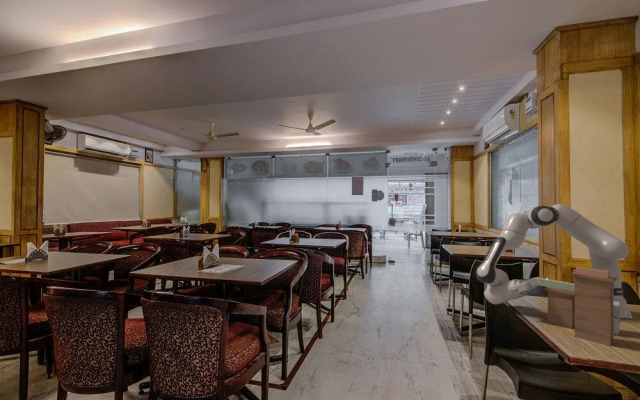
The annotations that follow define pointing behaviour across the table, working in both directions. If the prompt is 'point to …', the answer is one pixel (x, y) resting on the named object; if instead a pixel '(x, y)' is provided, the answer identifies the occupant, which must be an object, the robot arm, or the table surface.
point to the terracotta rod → (592, 272)
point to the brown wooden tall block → (594, 308)
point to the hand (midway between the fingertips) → (544, 279)
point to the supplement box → (616, 317)
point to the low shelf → (561, 307)
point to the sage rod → (556, 284)
